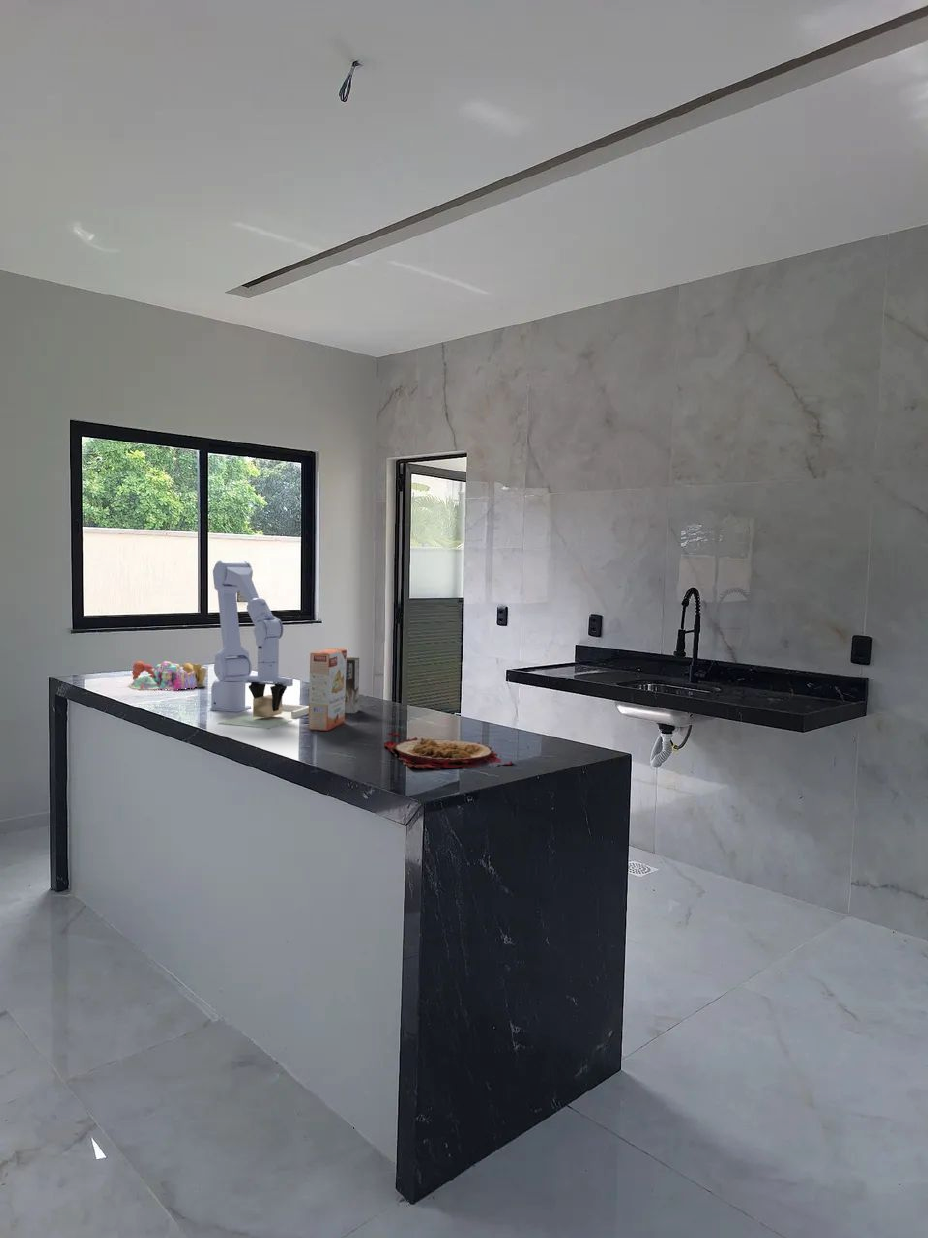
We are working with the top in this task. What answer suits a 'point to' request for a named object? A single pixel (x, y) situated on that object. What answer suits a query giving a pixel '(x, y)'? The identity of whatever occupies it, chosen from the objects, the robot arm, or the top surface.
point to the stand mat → (254, 722)
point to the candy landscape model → (167, 676)
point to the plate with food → (441, 753)
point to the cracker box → (327, 689)
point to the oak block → (265, 707)
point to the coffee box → (352, 685)
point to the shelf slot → (293, 711)
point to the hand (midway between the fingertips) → (267, 709)
